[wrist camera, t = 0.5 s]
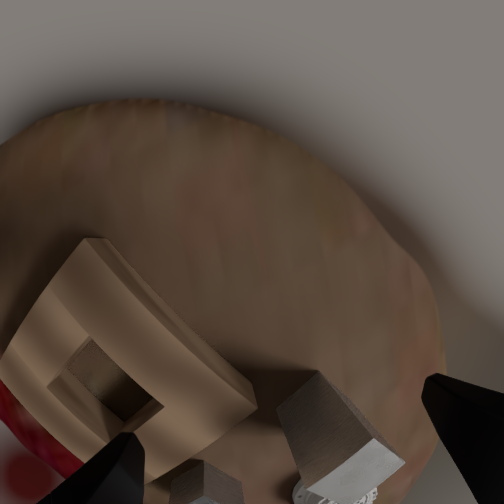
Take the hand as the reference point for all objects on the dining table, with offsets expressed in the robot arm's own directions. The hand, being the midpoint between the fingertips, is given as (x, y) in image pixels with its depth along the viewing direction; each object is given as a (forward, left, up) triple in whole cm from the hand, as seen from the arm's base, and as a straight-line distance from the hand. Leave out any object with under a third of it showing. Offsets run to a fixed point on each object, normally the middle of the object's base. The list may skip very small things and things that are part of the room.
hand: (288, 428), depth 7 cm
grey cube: (-16, -11, -15) cm, 24 cm away
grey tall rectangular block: (-2, -11, -15) cm, 18 cm away
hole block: (-12, +3, -15) cm, 19 cm away
